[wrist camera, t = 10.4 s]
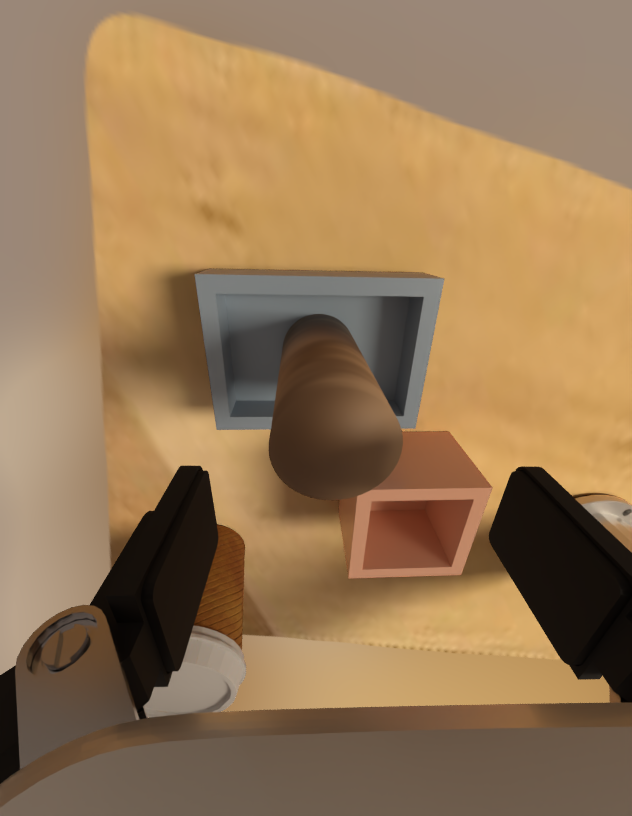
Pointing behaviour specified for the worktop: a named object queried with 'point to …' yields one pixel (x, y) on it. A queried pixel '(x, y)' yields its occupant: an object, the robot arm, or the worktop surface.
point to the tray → (301, 296)
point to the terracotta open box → (416, 513)
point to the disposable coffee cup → (211, 641)
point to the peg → (330, 415)
